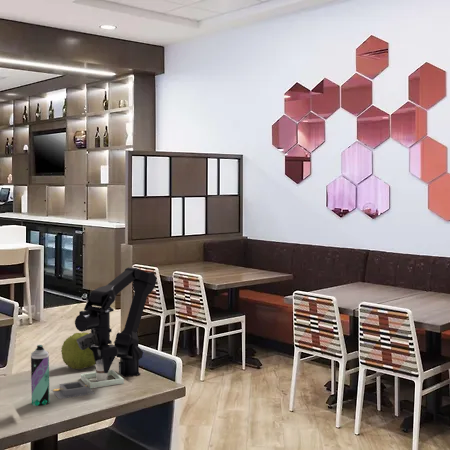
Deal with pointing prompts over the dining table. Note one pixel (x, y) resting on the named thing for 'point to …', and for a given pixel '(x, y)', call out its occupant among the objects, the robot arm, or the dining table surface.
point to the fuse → (100, 372)
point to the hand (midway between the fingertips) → (101, 369)
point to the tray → (101, 383)
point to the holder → (72, 390)
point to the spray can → (40, 376)
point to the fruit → (76, 353)
